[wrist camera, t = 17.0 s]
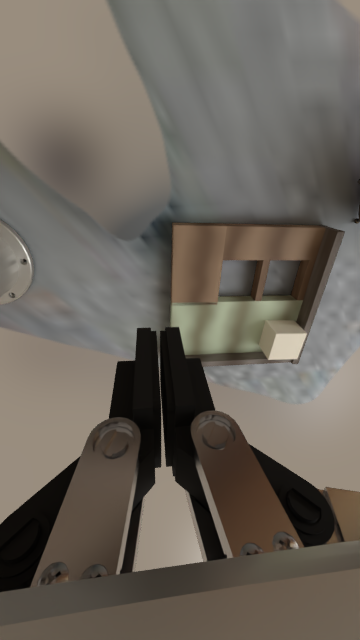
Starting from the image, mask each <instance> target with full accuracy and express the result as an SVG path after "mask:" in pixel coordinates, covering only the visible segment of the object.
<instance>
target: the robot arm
mask: <svg viewBox="0 0 360 640" xmlns="http://www.w3.org/2000/svg"><path fill="white" fill-rule="evenodd" d="M25 259H26V260H27V261H25ZM33 276H34V264H33V259H32V256H31V254H30V251H29V249H28V247H27V246H26V244H25V242H24V241H23V239H22V238H21V237H20V236H19V235H18V234H17V232H16V231H15V230H13V229H12V228H11V227H10V226H9V225H8V224H6V223H5V222H3V221H2V220H0V305H2V304H7V303H10V302H13V301H15V300H16V299H18V298H20V297H21V296H22V295H23V294H24V293H25V292H26V291H27V290H28V289H29V287H30V285H31V283H32V281H33ZM160 369H161V370H160V371H161V372H160V375H161V377H160V380H161V381H160V382H161V399H162V413H163V428H164V443H165V457H166V466H167V467H168V466H172V471H173V476H175V481H176V482H177V483H178V484H179V485H180V486H182V487H183V488H184V489H185V490H186V497H187V501H188V505H189V509H190V512H191V516H192V520H193V524H194V528H195V531H196V535H197V539H198V543H199V547H200V550H201V554H202V558H203V562H200V563H193V564H186V565H179V566H172V567H165V568H159V569H152V570H145V571H138V572H135V566H136V558H137V551H138V544H139V537H140V530H141V523H142V515H143V508H144V500H145V499H144V497H145V495H146V494H147V492H148V491H149V490H150V489H151V488H152V486H153V485H154V484H155V468H158V467H161V399H160V384H159V367H158V352H157V336H156V331H151V328H137V340H136V358H135V361H119V362H118V363H117V368H116V374H115V382H114V388H113V394H112V401H111V407H110V414H109V419H107V420H105V421H103V422H101V423H100V424H98V425H97V426H96V427H95V428H94V429H93V430H92V431H91V433H90V435H89V437H88V439H87V441H86V444H85V446H84V449H83V452H82V454H81V456H80V457H79V458H78V459H76V460H75V461H74V462H73V463H72V464H70V465H69V466H68V467H67V468H66V469H65V470H63V471H62V472H61V473H60V474H59V475H57V476H56V477H55V478H54V479H53V480H51V481H50V482H49V483H48V484H47V485H45V486H44V487H43V488H42V489H41V490H40V491H38V492H37V493H36V494H35V495H33V496H32V497H31V498H30V499H29V500H27V501H26V502H25V503H24V504H23V505H22V506H20V507H19V508H18V509H17V510H16V511H14V512H13V513H12V514H11V515H10V516H8V517H7V518H6V519H5V520H4V521H3V522H2V523H1V524H0V640H360V492H357V491H350V490H343V489H336V488H330V487H325V489H324V490H320V489H317V488H315V487H314V486H313V485H312V484H310V483H309V482H307V481H306V480H304V479H303V478H301V477H300V476H298V475H297V474H295V473H293V472H292V471H290V470H289V469H287V468H286V467H284V466H283V465H281V464H279V463H278V462H276V461H275V460H273V459H272V458H270V457H268V456H267V455H265V454H264V453H262V452H261V451H259V450H257V449H256V448H254V447H253V446H251V445H250V444H248V442H247V440H246V439H245V436H244V435H243V433H242V431H241V429H240V427H239V426H238V424H237V423H236V421H235V420H234V419H233V418H231V417H230V416H229V415H227V414H225V413H223V412H220V411H215V408H214V404H213V401H212V397H211V394H210V391H209V387H208V384H207V380H206V377H205V373H204V370H203V367H202V363H201V360H200V358H186V357H185V353H184V348H183V343H182V339H181V334H180V329H179V327H166V328H165V331H160Z"/></svg>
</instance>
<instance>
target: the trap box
mask: <svg viewBox="0 0 360 640" xmlns="http://www.w3.org/2000/svg"><path fill="white" fill-rule="evenodd" d="M344 233H345V232H344V231H341V230H337V229H334V228H330V227H327V226H323V225H272V224H221V223H172V256H171V306H170V327H179V329H180V334H181V339H182V343H183V348H184V353H185V357H186V358H200V360H201V363H202V367H205V366H224V365H244V364H264V363H284V362H291V363H292V364H298V362H299V360H300V357H301V354H302V351H303V348H304V346H305V343H306V340H307V337H308V334H309V332H310V329H311V326H312V323H313V320H314V317H315V315H316V312H317V309H318V306H319V303H320V301H321V298H322V295H323V292H324V289H325V287H326V284H327V281H328V278H329V275H330V272H331V270H332V267H333V264H334V261H335V258H336V256H337V253H338V250H339V247H340V244H341V242H342V239H343V236H344ZM223 260H257V265H256V270H255V275H254V280H253V285H252V290H251V295H250V296H218V294H219V286H220V278H221V270H222V262H223ZM270 260H301V261H300V265H299V268H298V272H297V275H296V279H295V282H294V286H293V289H292V293H291V295H272V296H262V295H263V291H264V286H265V282H266V277H267V273H268V268H269V264H270ZM265 320H294V321H295V322H296V323H297V324H298V325H299V326H300V327H301V328H302V329H303V330H304V331H305V332H306V333H307V335H306V338H305V340H304V343H303V345H302V348H301V351H300V353H299V356H298V358H297V359H282V360H268V359H267V357H266V356H265V354H264V352H263V351H262V349H261V348H260V346H259V342H260V338H261V335H262V331H263V328H264V324H265Z"/></svg>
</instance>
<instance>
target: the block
mask: <svg viewBox="0 0 360 640" xmlns="http://www.w3.org/2000/svg"><path fill="white" fill-rule="evenodd" d="M306 335H307V333H306V332H305V331H304V330H303V329H302V328H301V327H300V326H299V325H298V324H297V323H296V322H295V321H294V320H265V324H264V328H263V331H262V335H261V338H260V342H259V346H260V348H261V349H262V351H263V352H264V354H265V356H266V357H267V359H268V360H282V359H297V358H298V356H299V353H300V351H301V348H302V345H303V343H304V340H305V338H306Z"/></svg>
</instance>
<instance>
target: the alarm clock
mask: <svg viewBox="0 0 360 640" xmlns="http://www.w3.org/2000/svg"><path fill="white" fill-rule="evenodd" d="M358 183H359V184H360V179H359V180H358ZM359 222H360V205H359V219H355V221H354V223H359Z"/></svg>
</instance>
